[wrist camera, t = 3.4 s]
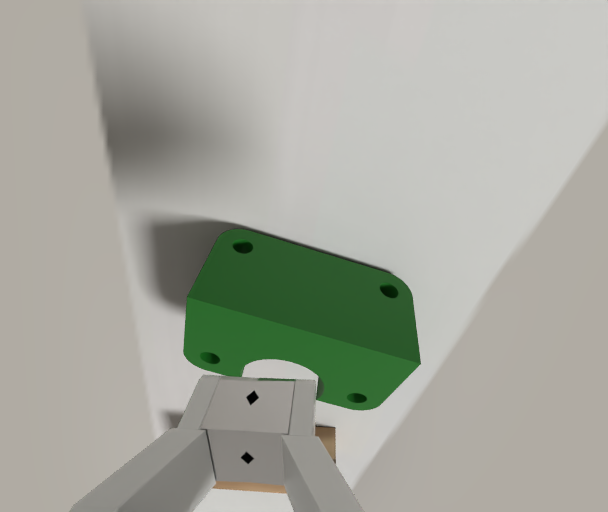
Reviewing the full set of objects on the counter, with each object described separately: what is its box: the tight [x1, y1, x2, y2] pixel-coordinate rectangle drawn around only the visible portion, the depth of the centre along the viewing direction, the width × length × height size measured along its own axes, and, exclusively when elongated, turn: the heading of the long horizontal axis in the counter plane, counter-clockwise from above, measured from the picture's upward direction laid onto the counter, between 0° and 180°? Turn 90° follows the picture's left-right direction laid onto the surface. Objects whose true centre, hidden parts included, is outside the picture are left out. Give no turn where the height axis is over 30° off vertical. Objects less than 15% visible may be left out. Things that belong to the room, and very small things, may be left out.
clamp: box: [183, 229, 421, 410], centre depth 20 cm, size 12×6×9 cm, turn 67°
